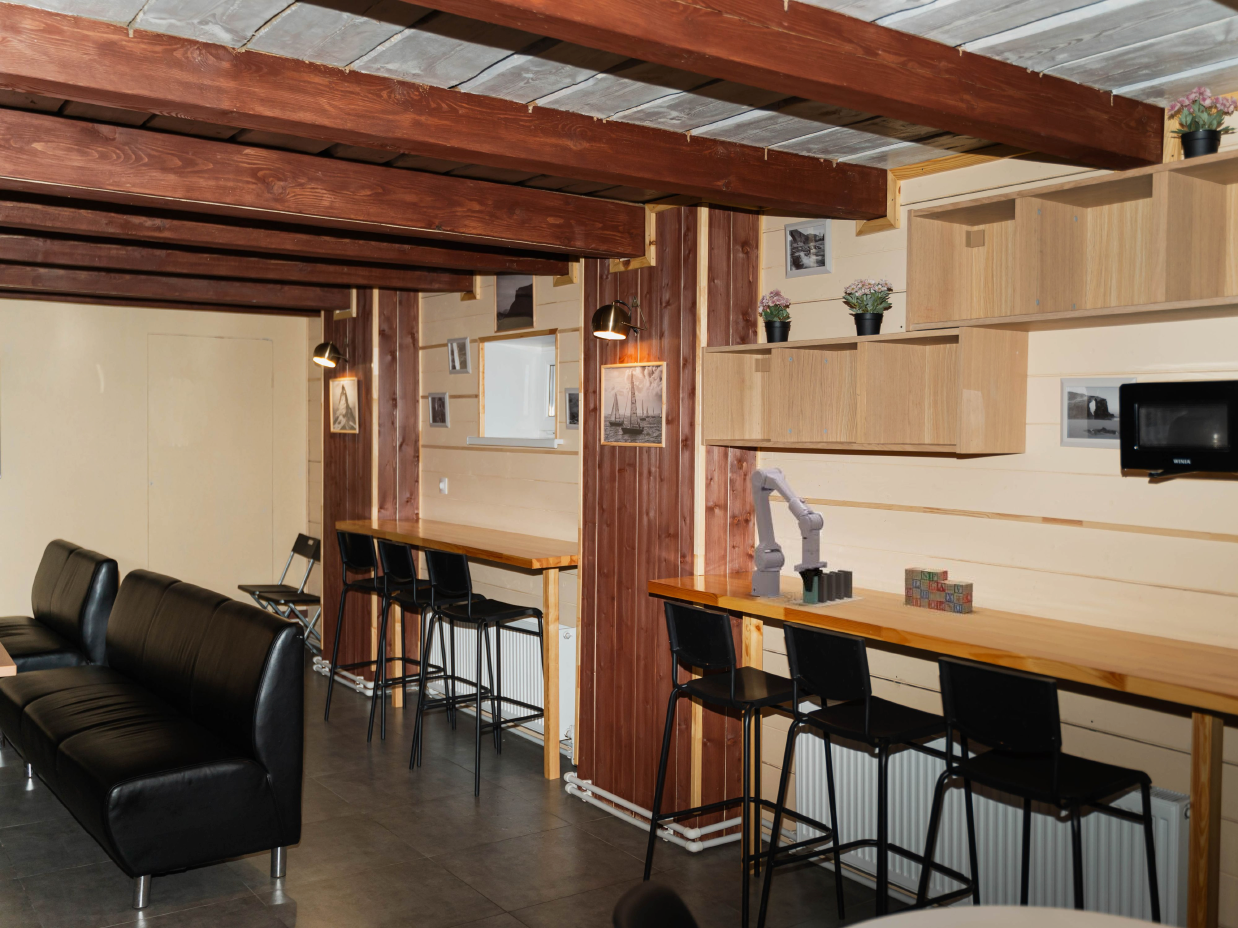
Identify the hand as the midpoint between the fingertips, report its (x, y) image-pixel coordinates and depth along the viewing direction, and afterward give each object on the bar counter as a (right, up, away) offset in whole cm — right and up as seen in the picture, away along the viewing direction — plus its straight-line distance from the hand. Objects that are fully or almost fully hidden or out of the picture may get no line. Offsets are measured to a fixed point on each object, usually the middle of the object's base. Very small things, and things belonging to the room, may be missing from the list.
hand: (810, 591), depth 351 cm
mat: (+7, -4, +6) cm, 10 cm away
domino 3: (+7, -4, +6) cm, 10 cm away
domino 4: (+10, -4, +9) cm, 14 cm away
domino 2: (+3, -4, +3) cm, 6 cm away
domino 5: (+14, -3, +12) cm, 18 cm away
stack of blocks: (+40, -5, -7) cm, 41 cm away
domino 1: (0, -4, 0) cm, 4 cm away
